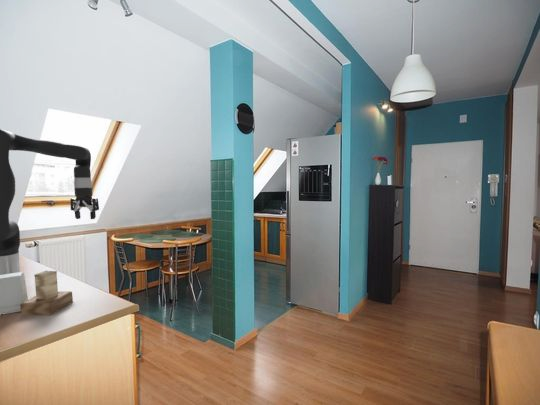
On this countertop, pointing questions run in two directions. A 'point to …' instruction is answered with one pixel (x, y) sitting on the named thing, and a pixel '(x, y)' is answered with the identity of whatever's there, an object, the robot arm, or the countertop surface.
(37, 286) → the oak block
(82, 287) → the countertop surface
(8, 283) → the skincare box
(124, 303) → the countertop surface
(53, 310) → the walnut box
